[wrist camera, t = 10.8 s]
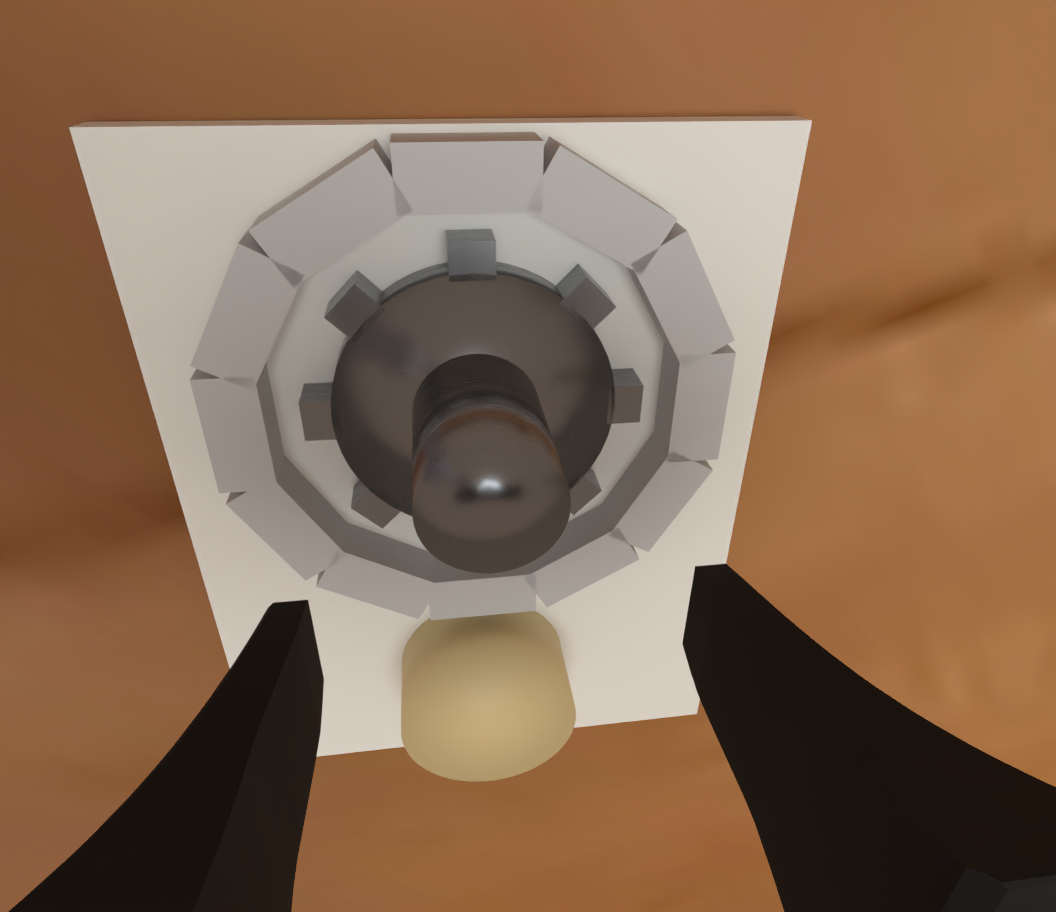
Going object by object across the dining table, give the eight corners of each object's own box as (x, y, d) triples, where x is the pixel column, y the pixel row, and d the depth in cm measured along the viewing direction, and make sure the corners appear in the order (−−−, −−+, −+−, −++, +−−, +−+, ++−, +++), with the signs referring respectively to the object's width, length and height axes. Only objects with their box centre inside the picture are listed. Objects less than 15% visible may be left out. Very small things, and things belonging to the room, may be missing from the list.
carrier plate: (262, 741, 29) (242, 836, 26) (85, 121, 17) (6, 147, 14) (689, 695, 31) (722, 777, 28) (794, 115, 20) (874, 136, 16)
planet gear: (328, 534, 23) (305, 680, 18) (279, 233, 18) (228, 317, 13) (618, 514, 24) (672, 644, 19) (646, 225, 19) (729, 299, 14)
